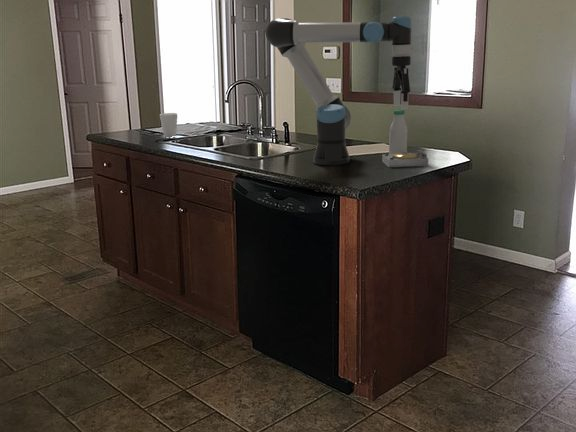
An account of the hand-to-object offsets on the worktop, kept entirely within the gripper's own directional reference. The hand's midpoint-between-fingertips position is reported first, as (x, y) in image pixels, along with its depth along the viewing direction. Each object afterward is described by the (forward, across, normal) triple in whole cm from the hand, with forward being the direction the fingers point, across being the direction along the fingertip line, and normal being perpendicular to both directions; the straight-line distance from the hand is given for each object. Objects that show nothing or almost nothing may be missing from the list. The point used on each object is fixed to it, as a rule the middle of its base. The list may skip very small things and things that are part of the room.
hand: (400, 107), depth 256 cm
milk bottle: (+21, +1, +1) cm, 21 cm away
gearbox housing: (+21, -14, +2) cm, 25 cm away
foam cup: (+20, +83, +108) cm, 138 cm away
